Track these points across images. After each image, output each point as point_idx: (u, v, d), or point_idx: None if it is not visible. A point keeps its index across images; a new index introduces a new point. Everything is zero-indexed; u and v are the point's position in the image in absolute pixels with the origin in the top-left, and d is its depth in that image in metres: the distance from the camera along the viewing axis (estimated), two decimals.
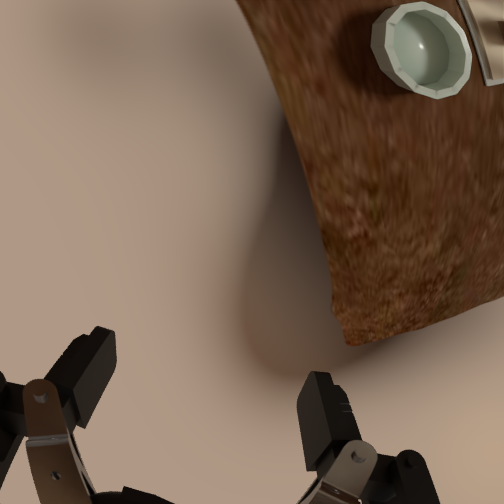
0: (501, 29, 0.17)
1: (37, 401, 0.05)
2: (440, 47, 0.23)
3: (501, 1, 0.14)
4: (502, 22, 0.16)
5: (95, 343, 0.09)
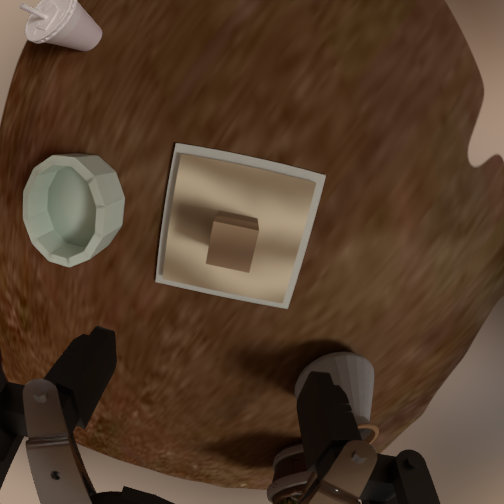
0: None
1: (37, 401, 0.05)
2: None
3: (254, 185, 0.28)
4: (217, 214, 0.28)
5: (95, 343, 0.09)
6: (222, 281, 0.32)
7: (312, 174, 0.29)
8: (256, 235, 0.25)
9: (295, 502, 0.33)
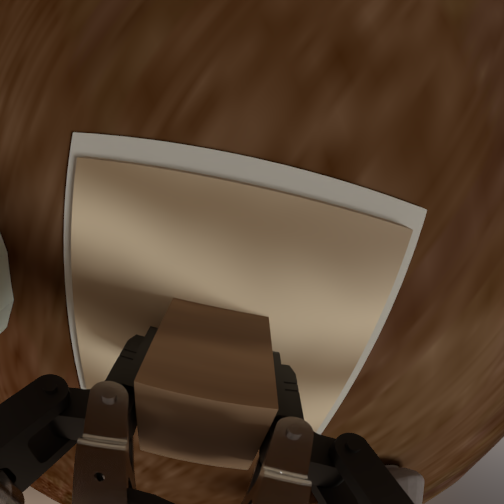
0: None
1: (108, 404, 0.06)
2: None
3: (262, 236, 0.11)
4: None
5: None
6: None
7: (401, 206, 0.11)
8: (269, 418, 0.07)
9: None
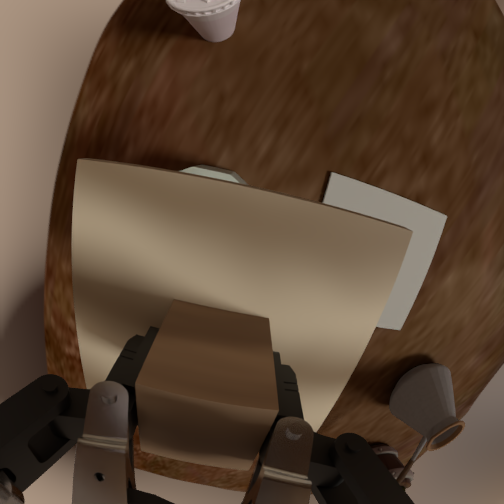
0: None
1: (108, 404, 0.06)
2: None
3: (262, 238, 0.11)
4: (166, 317, 0.10)
5: None
6: None
7: (438, 214, 0.29)
8: (269, 419, 0.07)
9: None
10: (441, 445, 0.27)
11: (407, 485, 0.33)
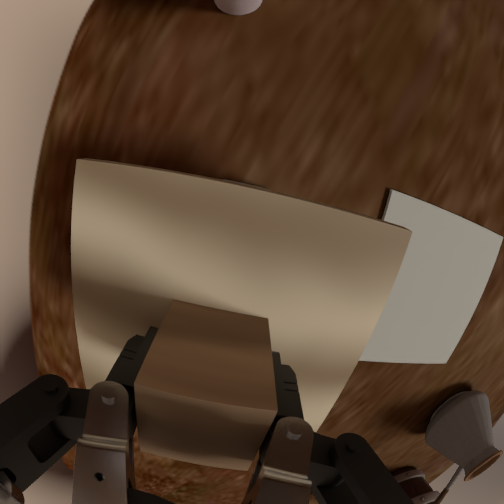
0: None
1: (108, 404, 0.06)
2: None
3: (261, 238, 0.11)
4: None
5: None
6: None
7: (496, 236, 0.21)
8: (268, 420, 0.07)
9: None
10: (477, 474, 0.19)
11: None
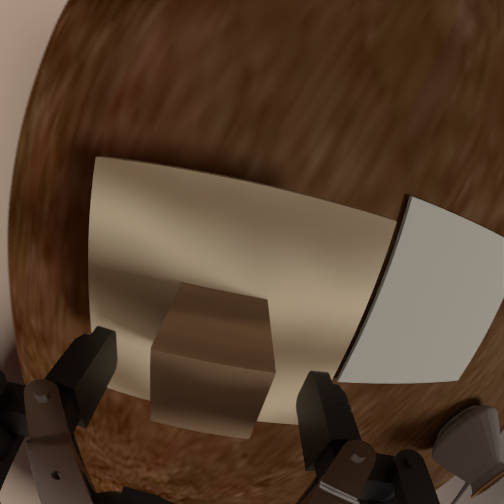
0: None
1: (38, 401, 0.05)
2: None
3: (261, 226, 0.12)
4: None
5: (96, 343, 0.09)
6: None
7: None
8: (268, 382, 0.09)
9: None
10: (484, 489, 0.16)
11: None
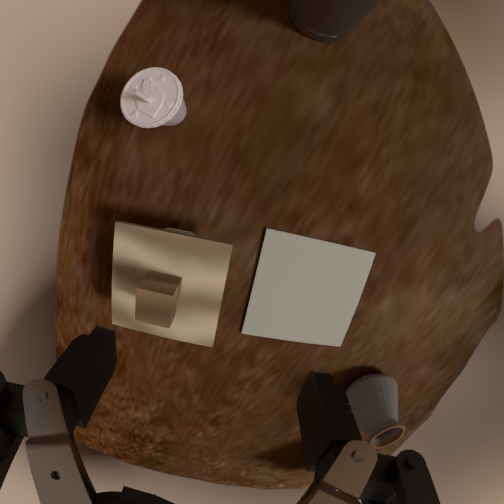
0: None
1: (37, 401, 0.05)
2: None
3: (177, 249, 0.32)
4: None
5: (95, 343, 0.09)
6: (159, 328, 0.35)
7: (366, 252, 0.38)
8: (171, 299, 0.28)
9: None
10: (386, 444, 0.36)
11: None
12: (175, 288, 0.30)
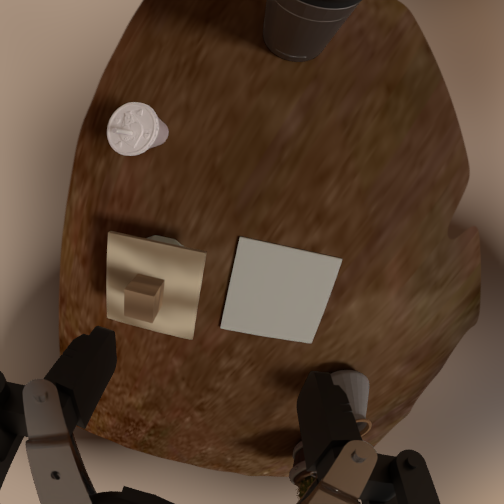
0: None
1: (37, 401, 0.05)
2: None
3: (159, 256, 0.37)
4: None
5: (95, 343, 0.09)
6: (146, 322, 0.40)
7: (333, 259, 0.43)
8: (152, 299, 0.33)
9: (311, 480, 0.47)
10: None
11: None
12: (157, 289, 0.35)
